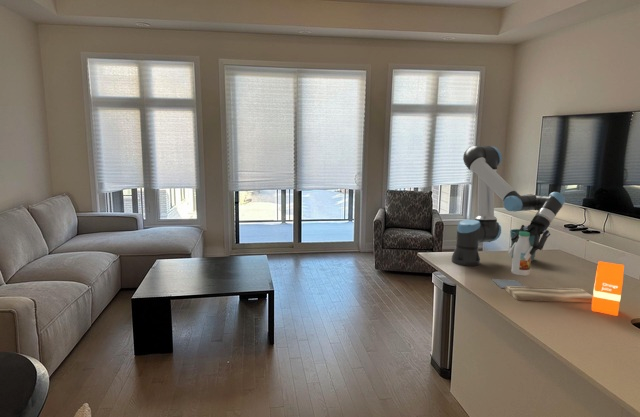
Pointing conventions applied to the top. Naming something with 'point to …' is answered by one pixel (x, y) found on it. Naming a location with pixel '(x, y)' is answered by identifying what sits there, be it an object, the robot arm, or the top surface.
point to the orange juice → (607, 288)
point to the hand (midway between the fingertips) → (517, 256)
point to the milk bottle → (521, 255)
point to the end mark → (506, 283)
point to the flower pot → (531, 240)
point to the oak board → (549, 294)
